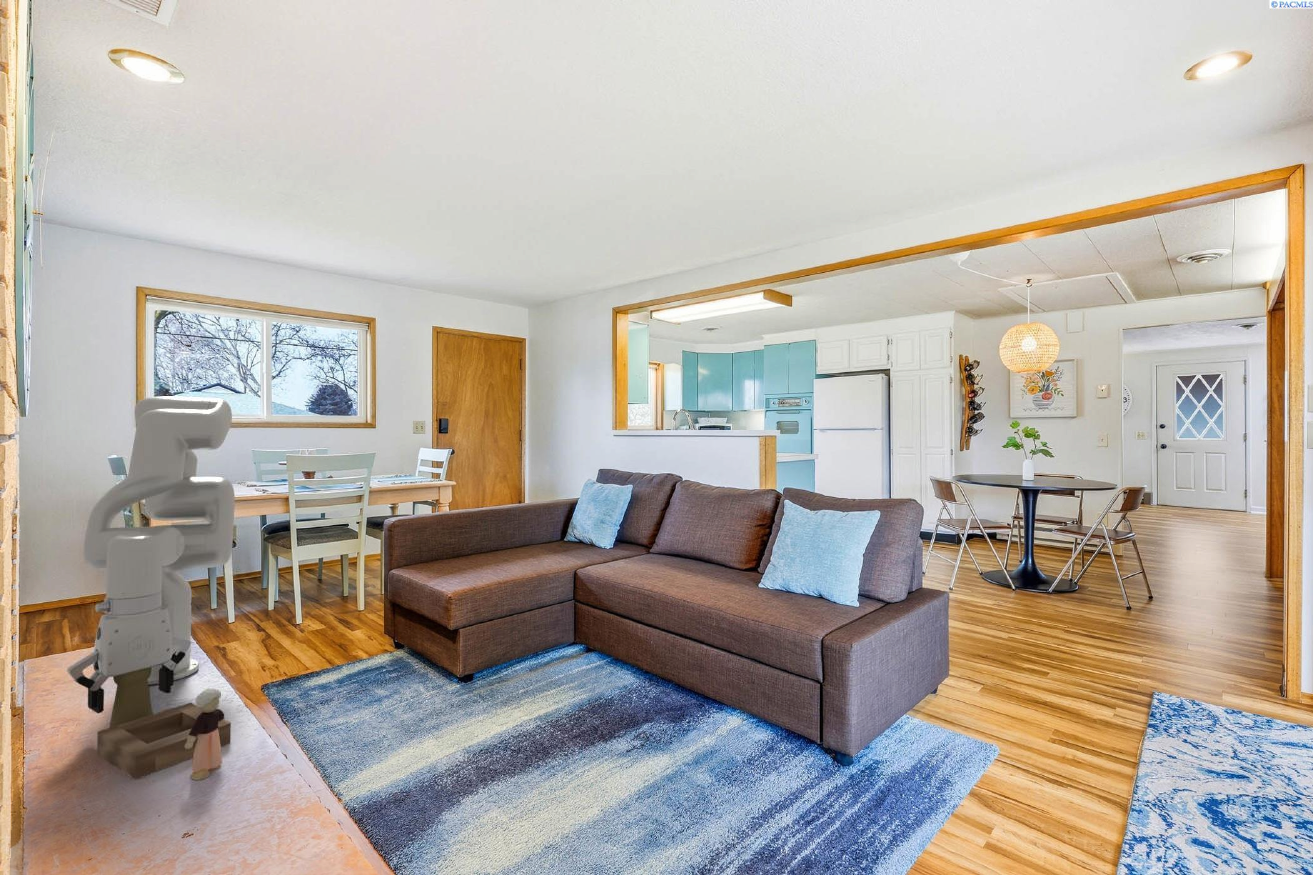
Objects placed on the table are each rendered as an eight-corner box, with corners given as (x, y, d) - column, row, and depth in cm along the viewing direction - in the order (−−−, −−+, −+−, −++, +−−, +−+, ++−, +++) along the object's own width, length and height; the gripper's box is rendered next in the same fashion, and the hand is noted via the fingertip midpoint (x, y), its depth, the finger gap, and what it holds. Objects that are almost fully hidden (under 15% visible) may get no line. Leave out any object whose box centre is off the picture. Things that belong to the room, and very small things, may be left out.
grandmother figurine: (207, 783, 93) (209, 698, 93) (179, 784, 92) (181, 699, 92) (234, 756, 100) (235, 678, 100) (207, 758, 100) (209, 679, 100)
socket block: (97, 753, 100) (97, 731, 100) (190, 721, 111) (190, 702, 111) (135, 779, 93) (135, 756, 93) (230, 743, 104) (230, 722, 104)
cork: (127, 735, 106) (129, 671, 106) (99, 731, 107) (100, 667, 107) (162, 719, 112) (163, 658, 112) (135, 715, 113) (136, 655, 113)
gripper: (78, 619, 100) (76, 725, 100) (200, 596, 115) (198, 688, 115) (60, 612, 104) (58, 713, 104) (181, 590, 119) (179, 679, 119)
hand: (132, 700), depth 110 cm, fingers open, 9 cm apart
